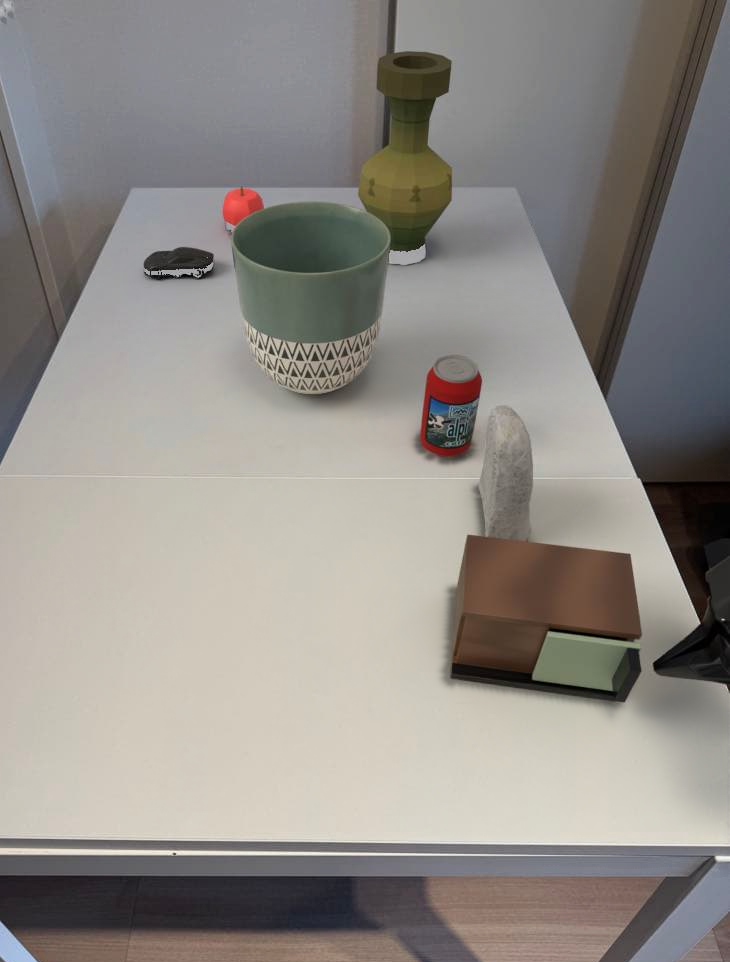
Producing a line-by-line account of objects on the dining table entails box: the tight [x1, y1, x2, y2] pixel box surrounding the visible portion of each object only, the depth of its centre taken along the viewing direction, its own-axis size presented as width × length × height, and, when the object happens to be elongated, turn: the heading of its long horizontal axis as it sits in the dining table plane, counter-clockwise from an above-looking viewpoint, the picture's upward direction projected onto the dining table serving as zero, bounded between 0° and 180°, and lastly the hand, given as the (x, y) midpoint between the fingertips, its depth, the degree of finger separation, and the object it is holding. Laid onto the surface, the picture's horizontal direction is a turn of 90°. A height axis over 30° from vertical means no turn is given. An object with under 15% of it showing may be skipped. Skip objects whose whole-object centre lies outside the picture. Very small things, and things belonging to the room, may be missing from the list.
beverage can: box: [419, 354, 483, 458], centre depth 97 cm, size 7×7×12 cm
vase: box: [357, 50, 453, 252], centre depth 127 cm, size 16×16×30 cm
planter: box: [230, 200, 391, 395], centre depth 103 cm, size 20×20×21 cm
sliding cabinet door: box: [532, 631, 642, 703], centre depth 71 cm, size 8×3×7 cm, turn 81°
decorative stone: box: [478, 404, 534, 542], centre depth 86 cm, size 11×6×15 cm, turn 0°
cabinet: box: [450, 534, 643, 702], centre depth 76 cm, size 16×11×9 cm
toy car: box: [143, 246, 215, 280], centre depth 131 cm, size 6×12×4 cm, turn 93°
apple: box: [222, 186, 265, 226], centre depth 141 cm, size 8×8×8 cm
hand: (655, 669), depth 68 cm, fingers closed
